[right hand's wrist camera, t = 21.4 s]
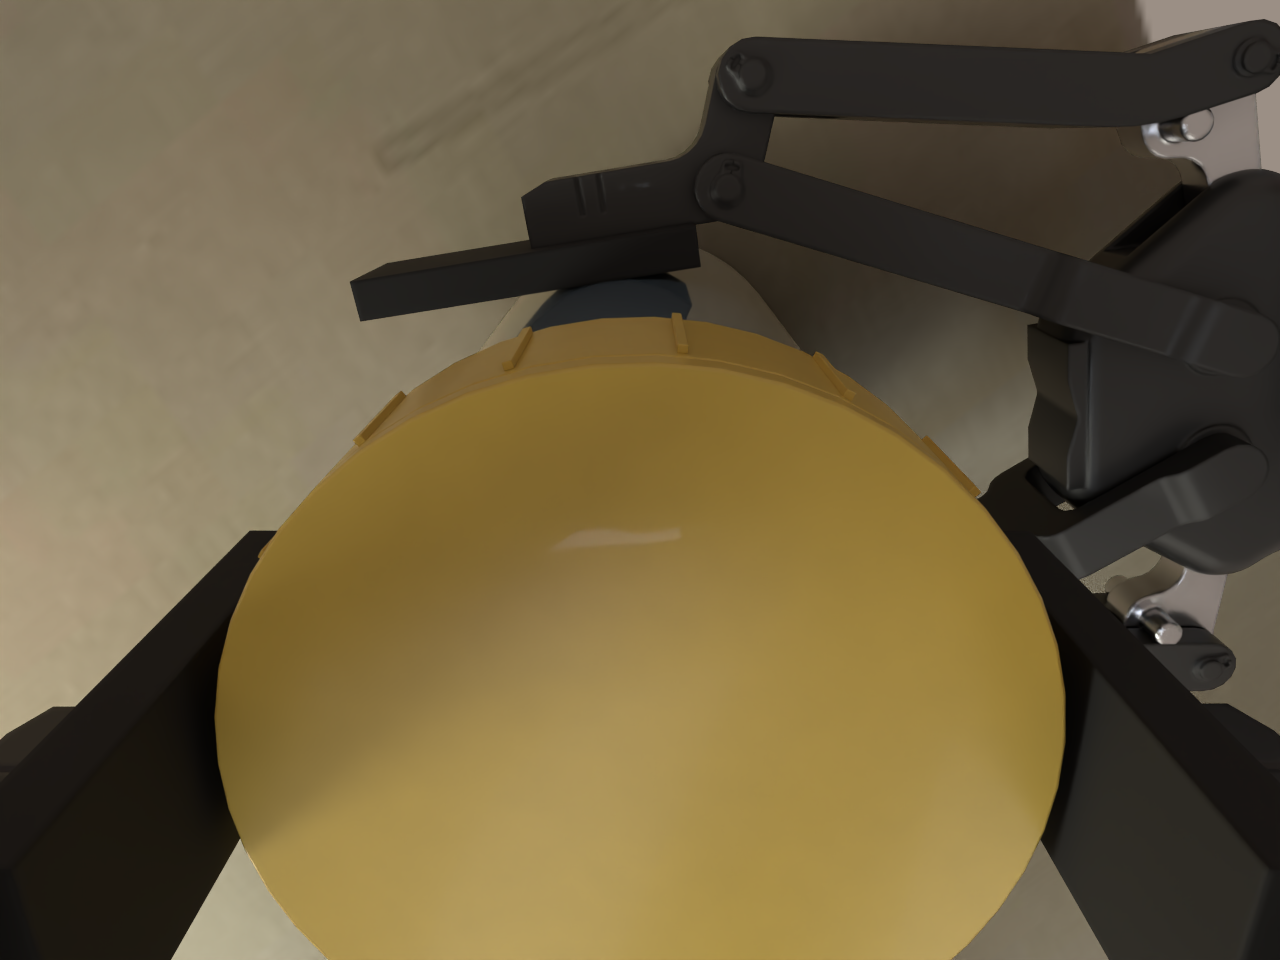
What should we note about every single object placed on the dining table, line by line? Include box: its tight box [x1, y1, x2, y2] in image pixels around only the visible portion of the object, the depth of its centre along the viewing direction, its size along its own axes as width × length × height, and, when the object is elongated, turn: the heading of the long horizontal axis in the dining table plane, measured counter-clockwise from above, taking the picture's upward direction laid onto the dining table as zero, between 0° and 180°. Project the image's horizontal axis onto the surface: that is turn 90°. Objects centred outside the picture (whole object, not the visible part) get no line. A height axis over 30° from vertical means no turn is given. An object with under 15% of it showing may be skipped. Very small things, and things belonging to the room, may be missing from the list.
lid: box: [215, 313, 1066, 960], centre depth 11 cm, size 10×10×2 cm
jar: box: [478, 249, 802, 352], centre depth 18 cm, size 8×8×16 cm
